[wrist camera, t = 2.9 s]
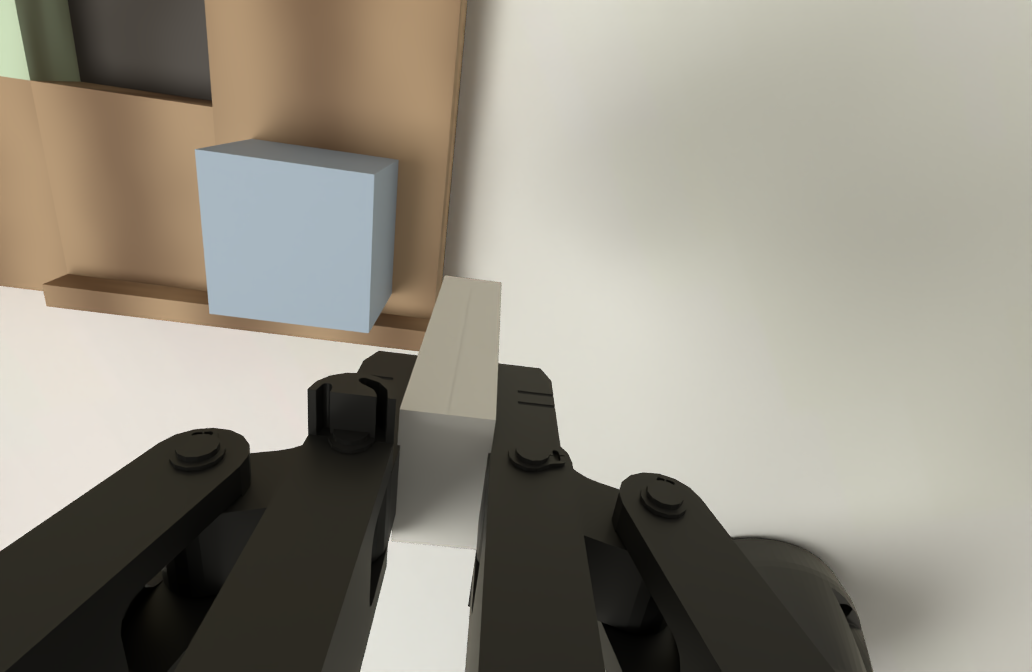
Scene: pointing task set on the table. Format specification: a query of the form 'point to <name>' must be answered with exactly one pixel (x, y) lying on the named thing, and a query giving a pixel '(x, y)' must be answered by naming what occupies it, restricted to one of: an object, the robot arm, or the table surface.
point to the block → (297, 233)
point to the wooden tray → (212, 139)
